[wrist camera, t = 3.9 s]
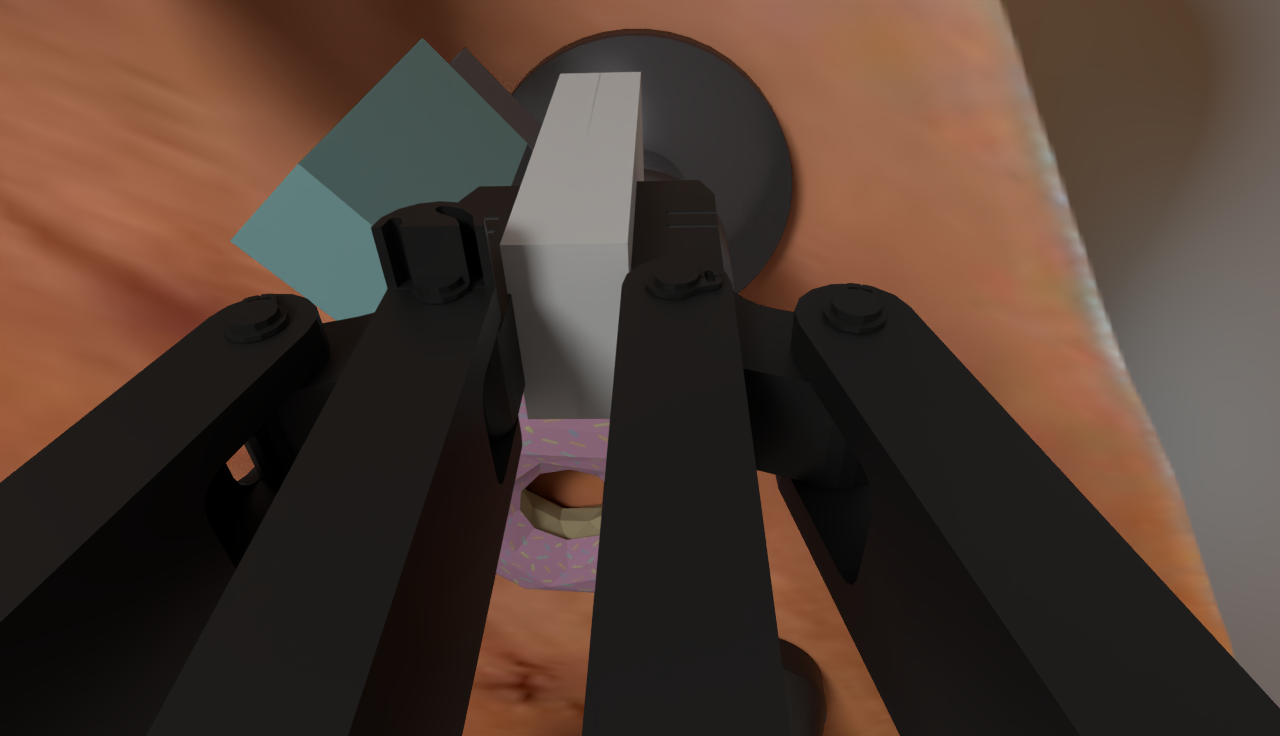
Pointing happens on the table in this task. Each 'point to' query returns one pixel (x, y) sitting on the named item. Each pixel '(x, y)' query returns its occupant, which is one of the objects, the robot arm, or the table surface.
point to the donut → (554, 507)
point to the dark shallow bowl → (693, 129)
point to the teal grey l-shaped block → (393, 175)
